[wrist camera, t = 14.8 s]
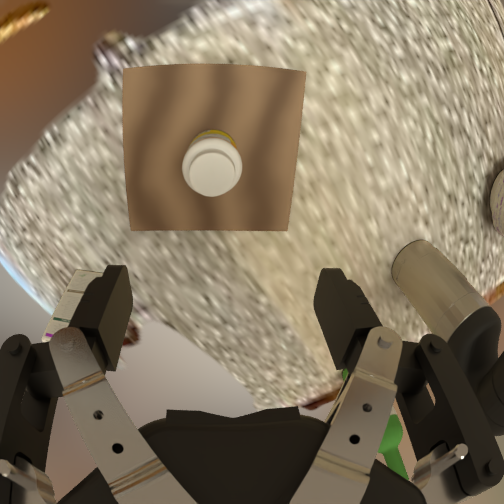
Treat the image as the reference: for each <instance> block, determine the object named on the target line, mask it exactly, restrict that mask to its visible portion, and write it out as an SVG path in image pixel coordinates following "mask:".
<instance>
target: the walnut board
mask: <svg viewBox="0 0 504 504" xmlns="http://www.w3.org/2000/svg"><path fill="white" fill-rule="evenodd" d="M305 80H306V72H304V71H297V70H290V69H282V68H273V67H263V66H250V65H233V64H173V65H156V66H144V67H134V68H126V69H123V148H124V166H125V179H126V191H127V201H128V211H129V219H130V227H131V231H149V230H235V231H287V230H288V223H289V215H290V208H291V201H292V193H293V186H294V178H295V170H296V162H297V154H298V145H299V137H300V128H301V119H302V109H303V100H304V90H305ZM209 129H217V130H221V131H224V132H226V133H227V134H228V135H230V136H231V137H232V139H233V140H234V142H235V144H236V147H237V149H238V152H239V154H240V157H241V161H242V173H241V176H240V179H239V181H238V182H237V184H236V185H235V186H234V187H233V188H232V189H231V190H229V191H228V192H226V193H224V194H222V195H219V196H215V197H209V196H204V195H202V194H200V193H198V192H196V191H194V190H193V189H192V188H191V187H190V186H189V185H188V184H187V182H186V181H185V179H184V176H183V172H182V163H183V159H184V156H185V154H186V152H187V150H188V147H189V146H190V144H191V142H192V140H193V139H194V138H195V137H196V136H197V135H198V134H199V133H201V132H203V131H205V130H209Z"/></svg>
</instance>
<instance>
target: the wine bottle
mask: <svg viewBox="0 0 504 504" xmlns="http://www.w3.org/2000/svg"><path fill="white" fill-rule="evenodd" d="M347 375H348V371H347V369H345V370H344V371H343V380H344V381H345V379H346V377H347ZM402 435H403V430H402V426H401V423H400V421H399V418H398V416H397V414H396V411H395V409H394V407H393V406H392V410H391V413H390V417H389V420H388V423H387V426H386V429H385V432H384V435H383V438H382V441H381V444H380V447H379V449H378V453H382V454H383V455H384V458H385V461H386V463H387V466H388V467H389V468H390V469H392V470H393V471H395V472H396V473H398V474H399V475H401V476H402V477H404V478H405V479H407V480H409V478H408V475H407V472H406V470H405V467H404V464H403V461H402V458H401V456H400V453H399V450H398V445H399V443H400V441H401V439H402Z"/></svg>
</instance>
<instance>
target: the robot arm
mask: <svg viewBox="0 0 504 504" xmlns="http://www.w3.org/2000/svg"><path fill="white" fill-rule="evenodd" d="M392 277H393V279H394V281H395V282H396V283H397V285H398V286H399V287H400V289H401V290H402V291H403V293H404V294H405V296H406V297H407V298H408V300H409V301H410V302H411V304H412V305H413V307H414V308H415V309H416V311H417V312H418V314H419V315H420V316H421V318H422V319H423V321H424V322H425V324H426V325H427V326H428V328H429V329H430V331H431V332H432V334H426V335H424V336H423V337H422V338H421V340H420V342H419V343H415V342H408V341H402V339H401V337H400V336H399V335H398V334H397V333H396V332H395V331H394V330H392V329H390V328H387V327H383V326H382V324H381V322H380V321H379V319H378V317H377V315H376V314H375V312H374V310H373V308H372V307H371V305H370V304H369V302H368V300H367V298H366V297H365V295H364V293H363V292H362V290H361V288H360V287H359V286H358V285H357V284H356V283H354V282H353V281H352V280H347V278H346V277H345V275H344V273H343V271H342V270H341V269H340V268H323V269H322V270H321V272H320V276H319V280H318V284H317V288H316V292H315V295H314V310H315V313H316V316H317V318H318V321H319V324H320V326H321V329H322V332H323V334H324V337H325V340H326V342H327V345H328V348H329V350H330V353H331V356H332V359H333V361H334V364H335V367H336V370H341V369H347V371H348V375H347V377H346V379H345V381H344V383H343V385H342V387H341V390H340V392H339V394H338V396H337V398H336V400H335V403H334V404H333V407H332V409H331V411H330V412H329V414H328V416H327V418H326V419H325V421H324V422H323V421H321V420H319V419H316V418H313V417H310V416H305V415H300V413H299V409H298V406H296V407H286V408H275V409H265V410H262V411H259V412H255V413H252V414H248V415H244V416H241V417H237V418H229V417H224V416H220V415H215V414H210V413H206V412H202V411H187V410H167V415H166V418H163V419H159V420H156V421H153V422H150V423H148V424H146V425H144V426H142V427H140V428H139V429H137V428H136V426H135V425H134V423H133V422H132V420H131V419H130V417H129V416H128V414H127V413H126V411H125V409H124V408H123V406H122V405H121V403H120V402H119V400H118V398H117V396H116V395H115V393H114V391H113V390H112V388H111V386H110V384H109V383H108V381H107V379H106V377H105V373H106V370H107V371H116V367H117V363H118V359H119V355H120V351H121V347H122V344H123V340H124V336H125V333H126V329H127V325H128V322H129V318H130V315H131V312H132V307H133V296H132V291H131V286H130V281H129V276H128V270H127V267H126V266H125V265H108V266H107V267H106V269H105V271H104V273H103V275H102V277H96V278H95V279H93V280H92V281H91V282H90V283H89V284H88V286H87V287H86V289H85V291H84V295H82V297H81V299H80V302H79V303H78V306H77V308H76V310H75V312H74V314H73V316H72V318H71V320H70V323H69V325H68V327H65V328H62V329H60V330H58V331H57V332H55V333H54V334H53V336H52V337H51V339H50V341H49V342H43V343H37V344H31V342H30V340H29V339H28V337H26V336H25V335H22V334H17V335H13V336H11V337H9V338H8V339H7V340H6V341H5V342H4V343H3V345H2V347H1V349H0V504H459V503H461V502H464V501H466V500H467V499H470V498H472V497H474V496H476V495H478V494H480V493H482V492H484V491H486V490H488V489H490V488H491V487H493V486H495V485H497V484H498V483H499V482H500V480H501V479H502V477H503V475H504V460H503V457H502V454H501V452H500V449H499V447H498V444H497V442H496V439H495V437H494V436H501V435H504V352H503V353H502V354H501V356H500V357H499V358H498V351H497V350H498V341H499V336H500V331H501V320H500V318H499V316H498V315H497V313H496V312H495V311H494V310H493V309H492V308H491V306H490V305H489V304H488V303H487V302H486V301H485V299H484V298H483V297H482V296H481V295H480V294H479V293H478V292H477V291H476V290H475V288H474V287H473V286H472V285H471V284H470V283H469V282H468V281H467V278H466V277H465V276H464V275H463V274H462V273H461V272H460V271H459V270H458V269H457V268H456V267H455V266H454V265H453V264H452V263H451V262H450V261H449V260H448V259H447V258H446V257H445V256H444V255H443V254H442V253H441V252H440V251H439V250H438V249H437V248H435V247H433V246H432V245H431V244H430V243H429V242H428V241H425V240H419V241H415V242H413V243H411V244H409V245H408V246H406V247H405V248H404V249H403V250H402V251H401V252H400V253H399V255H398V256H397V258H396V259H395V262H394V264H393V267H392ZM428 383H429V385H430V387H431V390H432V392H433V394H434V396H435V406H434V403H433V401H432V399H431V396H430V394H429V392H428V390H427V388H426V385H427V384H428ZM23 395H24V396H23ZM58 397H64V399H65V402H66V404H67V406H68V409H69V411H70V413H71V415H72V418H73V420H74V422H75V424H76V426H77V429H78V431H79V433H80V434H81V437H82V439H83V440H84V442H85V444H86V446H87V448H88V450H89V452H90V454H91V456H92V457H93V459H94V461H95V463H96V464H97V466H98V467H97V468H95V469H94V470H93V471H92V472H91V473H90V474H89V475H88V476H87V477H86V478H84V479H83V480H82V481H81V482H80V483H79V484H78V485H77V486H76V487H74V488H73V489H72V490H71V491H70V492H69V493H68V494H66V495H65V496H64V497H63V498H62V499H61V500H60V501H59V502H58V503H57V502H56V500H55V498H54V490H53V486H52V483H51V480H50V479H49V477H48V476H47V475H46V474H45V467H46V459H47V452H48V446H49V440H50V434H51V429H52V423H53V419H54V414H55V409H56V404H57V400H58ZM395 398H396V401H397V403H398V406H399V409H400V411H401V415H402V417H403V420H404V422H405V426H406V429H407V432H408V435H409V437H410V441H411V443H412V446H413V450H414V453H415V456H416V459H417V463H416V465H415V468H414V474H413V476H412V482H410V481H408V480H407V479H405V478H404V477H402V476H401V475H399V474H398V473H396V472H395V471H393V470H392V469H390V468H389V467H387V466H386V465H384V464H382V463H381V462H380V461H378V460H377V459H375V457H376V455H377V452H378V449H379V447H380V444H381V441H382V438H383V435H384V432H385V429H386V426H387V423H388V420H389V417H390V413H391V410H392V406H393V403H394V399H395ZM21 402H22V403H21Z"/></svg>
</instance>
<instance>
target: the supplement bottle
mask: <svg viewBox="0 0 504 504" xmlns="http://www.w3.org/2000/svg"><path fill="white" fill-rule="evenodd" d="M182 172H183V176H184V179H185V181H186V182H187V184H188V185H189V186H190V187H191V188H192V189H193V190H194V191H196V192H198V193H200V194H202V195H204V196H209V197H215V196H219V195H222V194H224V193H226V192H228V191H229V190H231V189H232V188H233V187H234V186H235V185H236V184H237V182H238V181H239V179H240V176H241V173H242V161H241V157H240V154H239V152H238V149H237V147H236V144H235V142H234V140H233V139H232V137H231V136H230V135H228V134H227V133H226V132H224V131H221V130H217V129H209V130H205V131H203V132H201V133H199V134H198V135H197V136H196V137H195V138H194V139H193V140H192V142H191V144H190V146H189V147H188V150H187V152H186V154H185V156H184V159H183V163H182Z"/></svg>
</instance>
